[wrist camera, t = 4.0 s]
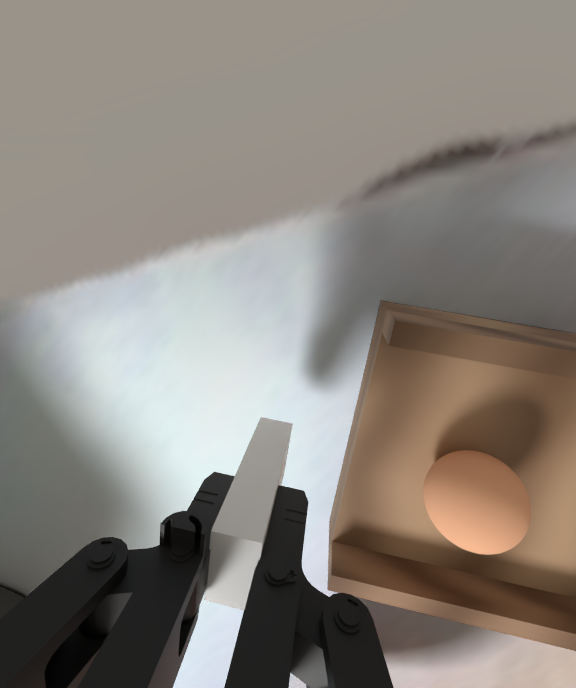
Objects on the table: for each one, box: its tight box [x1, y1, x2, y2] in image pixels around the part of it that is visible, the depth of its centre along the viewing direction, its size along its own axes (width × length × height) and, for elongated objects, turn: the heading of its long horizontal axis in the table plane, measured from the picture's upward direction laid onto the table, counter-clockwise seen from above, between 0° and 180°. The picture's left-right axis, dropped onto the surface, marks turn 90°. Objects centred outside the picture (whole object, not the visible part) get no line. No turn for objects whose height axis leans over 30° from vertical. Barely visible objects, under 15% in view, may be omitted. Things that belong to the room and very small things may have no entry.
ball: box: [423, 450, 531, 555], centre depth 15 cm, size 4×4×4 cm
